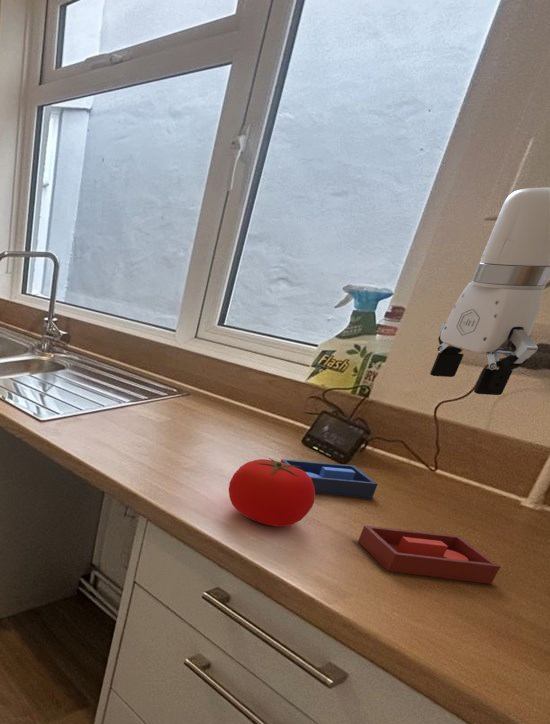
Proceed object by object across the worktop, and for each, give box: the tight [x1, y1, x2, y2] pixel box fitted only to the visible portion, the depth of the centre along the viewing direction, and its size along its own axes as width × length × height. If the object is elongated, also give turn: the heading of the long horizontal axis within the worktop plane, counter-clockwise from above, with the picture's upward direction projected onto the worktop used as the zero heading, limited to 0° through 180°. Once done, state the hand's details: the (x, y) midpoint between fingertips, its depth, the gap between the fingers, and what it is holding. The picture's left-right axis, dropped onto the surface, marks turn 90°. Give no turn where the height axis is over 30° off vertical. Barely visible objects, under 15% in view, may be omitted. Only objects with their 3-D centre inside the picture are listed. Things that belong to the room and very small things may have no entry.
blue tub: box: [280, 458, 379, 499], centre depth 100 cm, size 12×8×3 cm, turn 76°
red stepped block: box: [397, 537, 469, 561], centre depth 78 cm, size 8×3×3 cm, turn 76°
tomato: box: [228, 457, 316, 527], centre depth 88 cm, size 11×12×10 cm
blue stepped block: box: [306, 467, 356, 480], centre depth 100 cm, size 8×3×3 cm, turn 76°
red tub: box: [357, 525, 501, 585], centre depth 78 cm, size 12×8×3 cm, turn 76°
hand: (463, 384), depth 86 cm, fingers open, 9 cm apart
